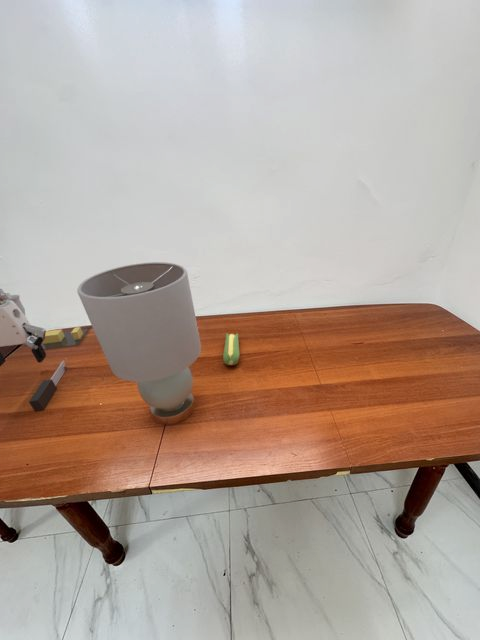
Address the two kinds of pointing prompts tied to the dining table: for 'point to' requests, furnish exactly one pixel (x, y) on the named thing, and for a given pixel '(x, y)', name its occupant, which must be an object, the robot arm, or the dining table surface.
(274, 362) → the dining table surface
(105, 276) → the lamp
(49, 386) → the knife
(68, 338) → the slate board
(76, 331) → the butter slice
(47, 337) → the butter block
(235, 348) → the edible corn
